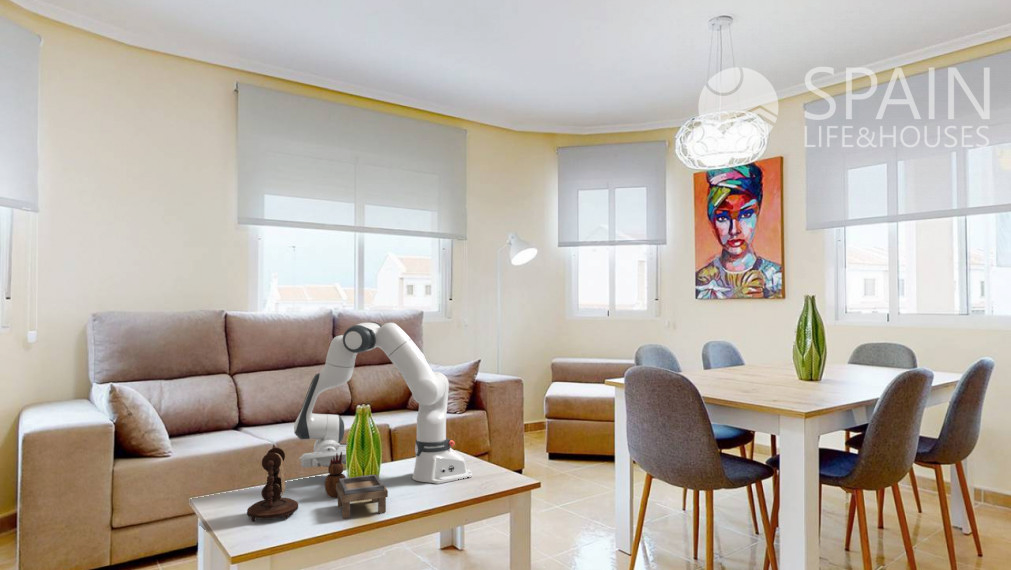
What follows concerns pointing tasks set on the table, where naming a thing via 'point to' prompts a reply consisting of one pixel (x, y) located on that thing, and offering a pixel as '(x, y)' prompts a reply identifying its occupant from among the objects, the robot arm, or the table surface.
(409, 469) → the table surface
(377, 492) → the stool
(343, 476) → the wooden figurine
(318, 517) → the table surface
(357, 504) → the table surface
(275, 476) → the dark brown tall figurine
